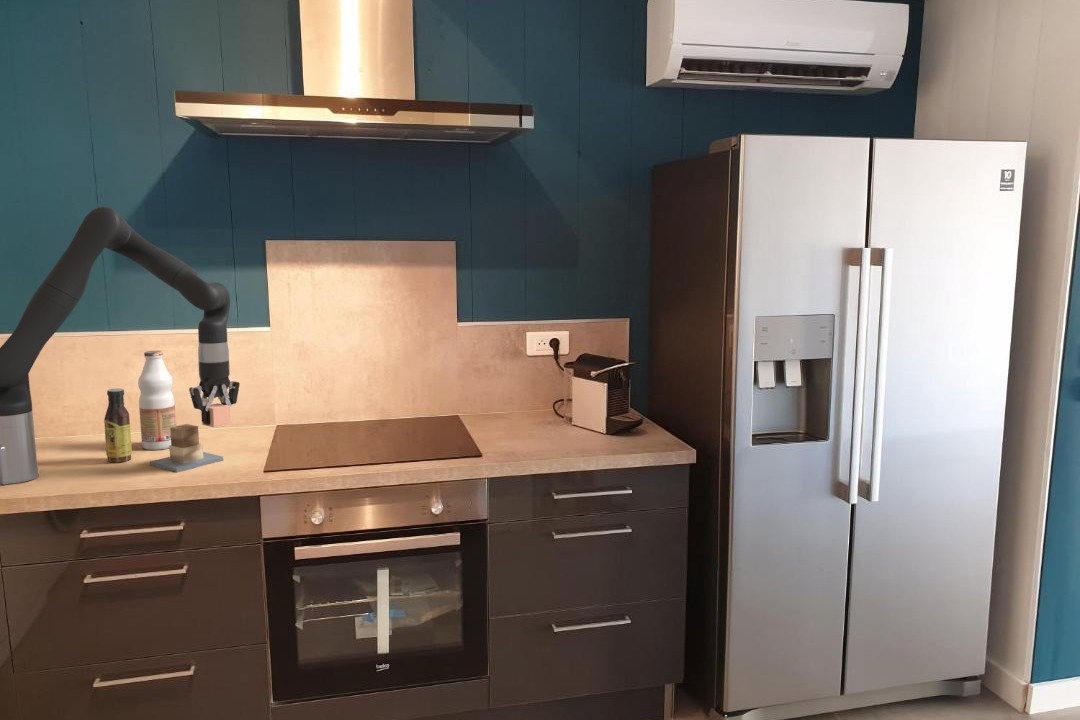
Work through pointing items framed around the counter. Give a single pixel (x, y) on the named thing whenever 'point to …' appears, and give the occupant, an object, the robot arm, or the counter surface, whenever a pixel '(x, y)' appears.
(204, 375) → the robot arm
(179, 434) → the walnut block
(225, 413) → the terracotta block
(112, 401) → the sauce bottle
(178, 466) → the board
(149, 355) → the fruit juice
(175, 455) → the oak plinth
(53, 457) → the counter surface
